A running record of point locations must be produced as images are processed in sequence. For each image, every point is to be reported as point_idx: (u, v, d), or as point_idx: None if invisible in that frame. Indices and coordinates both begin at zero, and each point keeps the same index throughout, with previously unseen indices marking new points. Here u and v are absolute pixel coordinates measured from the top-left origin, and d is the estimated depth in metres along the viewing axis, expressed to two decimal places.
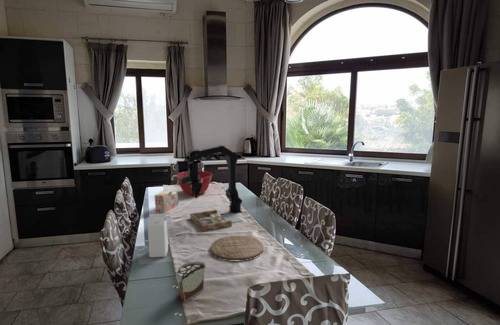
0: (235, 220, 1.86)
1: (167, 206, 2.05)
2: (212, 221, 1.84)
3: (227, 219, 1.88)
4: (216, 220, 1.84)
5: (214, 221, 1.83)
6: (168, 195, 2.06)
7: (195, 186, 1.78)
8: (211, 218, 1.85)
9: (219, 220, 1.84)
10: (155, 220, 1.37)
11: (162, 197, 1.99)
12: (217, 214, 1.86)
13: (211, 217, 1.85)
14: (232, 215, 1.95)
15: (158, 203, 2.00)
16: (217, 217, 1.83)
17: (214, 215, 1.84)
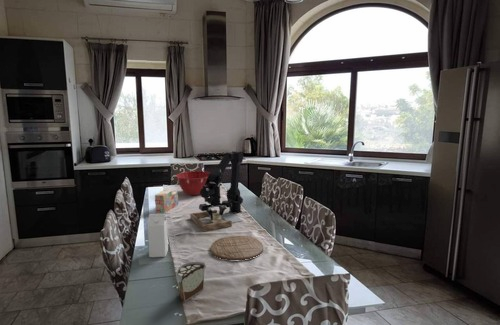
0: (235, 220, 1.86)
1: (168, 205, 2.05)
2: (212, 221, 1.84)
3: (227, 219, 1.88)
4: (217, 220, 1.84)
5: (214, 221, 1.83)
6: (168, 195, 2.06)
7: (199, 207, 1.81)
8: None
9: (219, 220, 1.84)
10: (155, 220, 1.37)
11: (162, 197, 1.99)
12: (217, 214, 1.86)
13: None
14: (232, 215, 1.95)
15: (159, 203, 2.01)
16: (217, 217, 1.83)
17: (214, 215, 1.84)
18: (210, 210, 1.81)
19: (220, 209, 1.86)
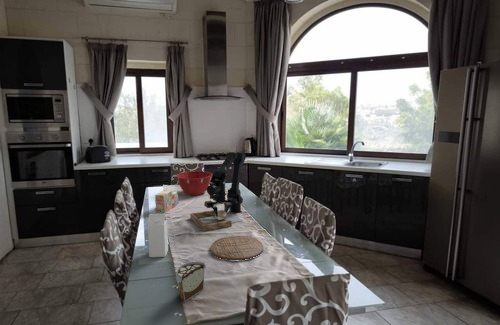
0: (235, 220, 1.86)
1: (168, 205, 2.05)
2: (217, 218, 1.85)
3: (227, 219, 1.88)
4: (222, 217, 1.85)
5: (219, 218, 1.84)
6: (168, 195, 2.06)
7: (205, 204, 1.83)
8: None
9: (224, 217, 1.86)
10: (155, 220, 1.37)
11: (162, 197, 1.99)
12: (222, 211, 1.88)
13: None
14: (232, 215, 1.95)
15: (159, 203, 2.01)
16: (222, 213, 1.85)
17: (219, 212, 1.86)
18: (215, 207, 1.82)
19: (225, 206, 1.88)
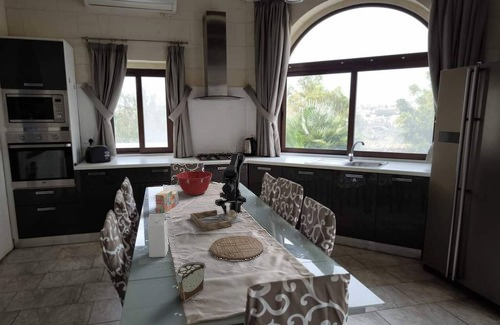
0: (235, 220, 1.86)
1: (168, 205, 2.06)
2: (228, 218, 1.88)
3: (227, 219, 1.88)
4: (232, 217, 1.88)
5: (230, 218, 1.87)
6: (168, 195, 2.06)
7: (215, 203, 1.86)
8: (226, 215, 1.90)
9: (234, 217, 1.89)
10: (155, 220, 1.37)
11: (163, 197, 2.00)
12: (232, 211, 1.91)
13: (226, 214, 1.89)
14: None
15: (159, 203, 2.01)
16: (232, 213, 1.88)
17: (229, 212, 1.89)
18: (224, 205, 1.84)
19: (236, 204, 1.91)
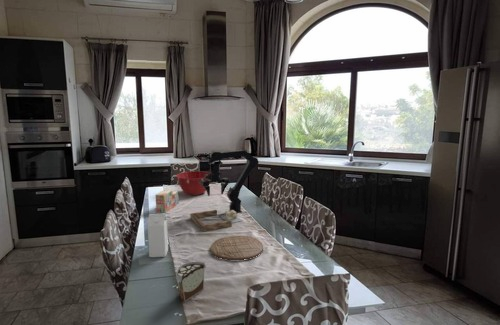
0: (235, 220, 1.86)
1: (168, 205, 2.06)
2: (228, 218, 1.88)
3: (227, 219, 1.88)
4: (232, 217, 1.88)
5: (230, 218, 1.87)
6: (169, 195, 2.07)
7: (200, 183, 1.93)
8: (226, 215, 1.90)
9: (234, 217, 1.89)
10: (155, 220, 1.37)
11: (163, 197, 2.00)
12: (232, 211, 1.91)
13: (226, 214, 1.89)
14: None
15: (159, 203, 2.01)
16: (232, 213, 1.88)
17: (229, 212, 1.89)
18: (208, 186, 1.92)
19: (222, 185, 2.00)
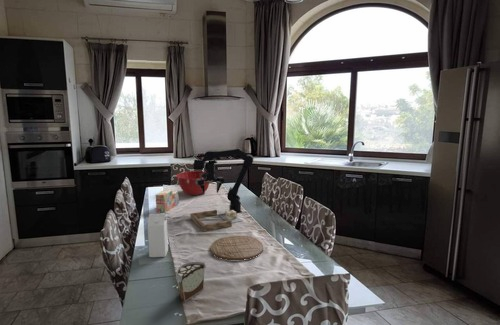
0: (235, 220, 1.86)
1: (168, 205, 2.06)
2: (228, 218, 1.88)
3: (227, 219, 1.88)
4: (232, 217, 1.88)
5: (230, 218, 1.87)
6: (169, 195, 2.07)
7: (195, 182, 1.98)
8: (226, 215, 1.90)
9: (234, 217, 1.89)
10: (155, 220, 1.37)
11: (163, 196, 2.00)
12: (232, 211, 1.91)
13: (226, 214, 1.89)
14: None
15: (159, 203, 2.01)
16: (232, 213, 1.88)
17: (229, 212, 1.89)
18: (202, 185, 1.97)
19: (217, 184, 2.04)
